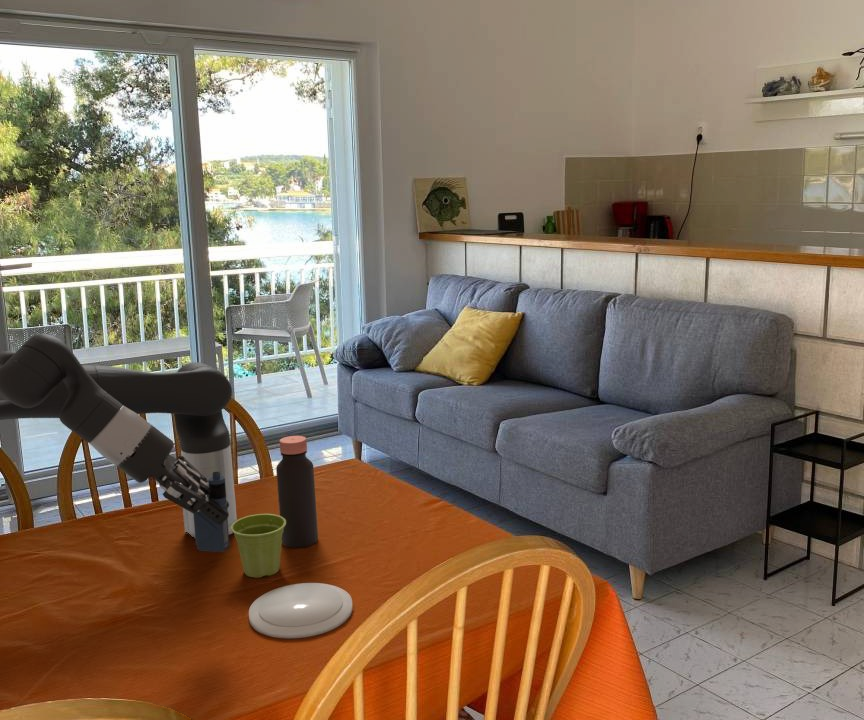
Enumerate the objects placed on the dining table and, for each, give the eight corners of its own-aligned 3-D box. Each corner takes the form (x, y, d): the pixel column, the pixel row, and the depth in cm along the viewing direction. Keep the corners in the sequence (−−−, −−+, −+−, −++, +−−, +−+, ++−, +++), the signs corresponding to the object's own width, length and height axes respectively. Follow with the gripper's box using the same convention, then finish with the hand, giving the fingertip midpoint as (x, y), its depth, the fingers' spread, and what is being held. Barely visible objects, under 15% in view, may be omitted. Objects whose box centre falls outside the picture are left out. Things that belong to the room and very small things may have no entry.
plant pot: (299, 562, 152) (295, 516, 150) (272, 585, 143) (268, 537, 142) (252, 556, 155) (249, 511, 153) (224, 579, 146) (219, 531, 145)
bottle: (311, 531, 166) (305, 432, 162) (323, 544, 160) (316, 441, 156) (277, 538, 163) (269, 437, 159) (287, 551, 157) (279, 446, 153)
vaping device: (225, 553, 127) (220, 475, 124) (193, 550, 128) (186, 474, 126) (233, 546, 129) (227, 470, 127) (201, 543, 130) (195, 468, 128)
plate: (227, 626, 130) (226, 617, 130) (288, 582, 144) (288, 574, 144) (315, 647, 123) (315, 638, 123) (371, 598, 138) (370, 590, 137)
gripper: (120, 448, 130) (209, 516, 135) (107, 479, 116) (206, 552, 121) (154, 412, 130) (241, 480, 135) (144, 437, 116) (242, 513, 121)
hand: (224, 514), depth 128 cm, fingers closed on vaping device, 3 cm apart
